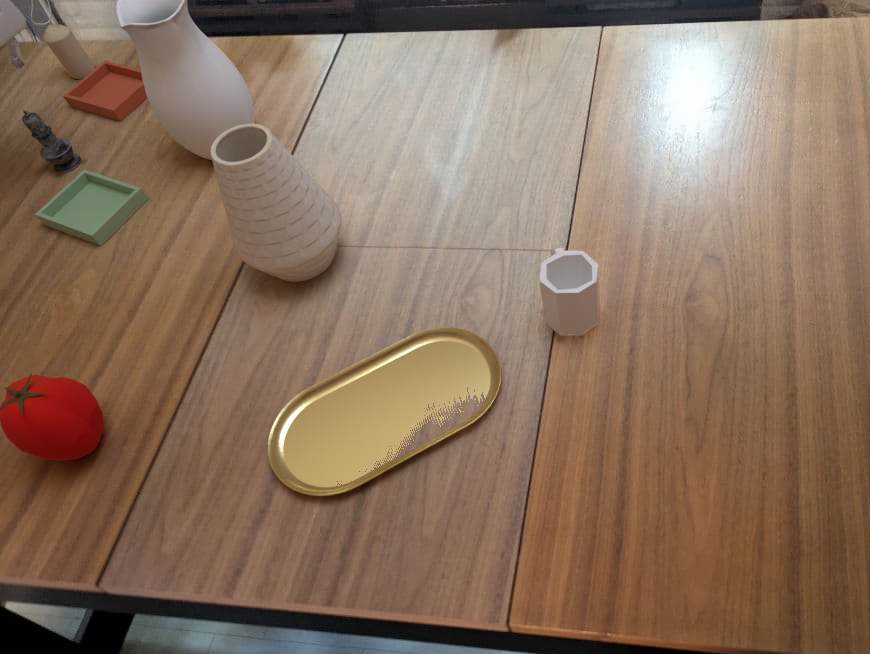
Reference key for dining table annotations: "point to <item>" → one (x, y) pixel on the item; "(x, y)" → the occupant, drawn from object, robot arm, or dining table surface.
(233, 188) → the vase
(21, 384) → the tomato
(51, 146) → the dark grey figurine
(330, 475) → the serving platter
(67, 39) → the candle
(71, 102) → the terracotta tray
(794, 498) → the dining table surface
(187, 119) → the pitcher
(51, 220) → the green tray
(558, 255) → the mug
